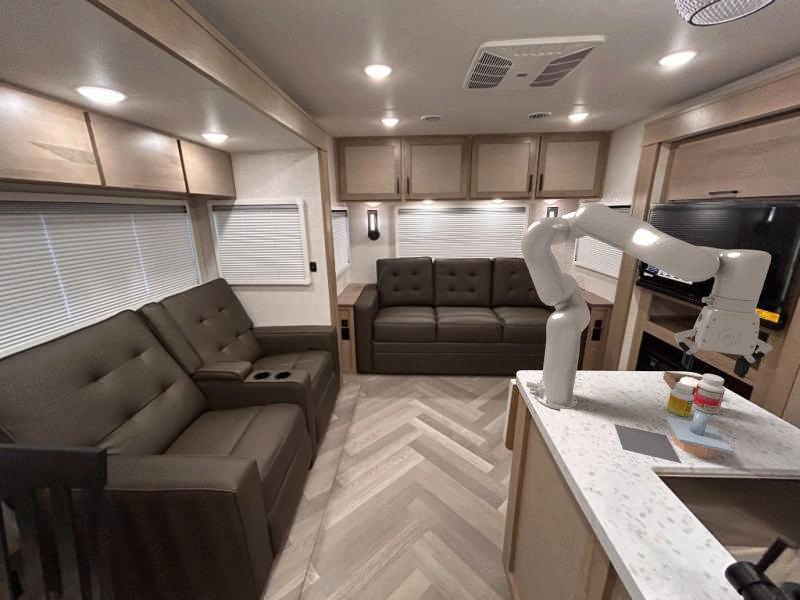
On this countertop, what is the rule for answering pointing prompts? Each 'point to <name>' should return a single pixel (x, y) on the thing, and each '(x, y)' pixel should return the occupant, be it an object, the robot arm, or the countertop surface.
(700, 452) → the bowl
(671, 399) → the supplement bottle
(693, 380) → the garlic
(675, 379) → the garlic corral
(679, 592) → the countertop surface
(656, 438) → the mat
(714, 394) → the pill bottle
